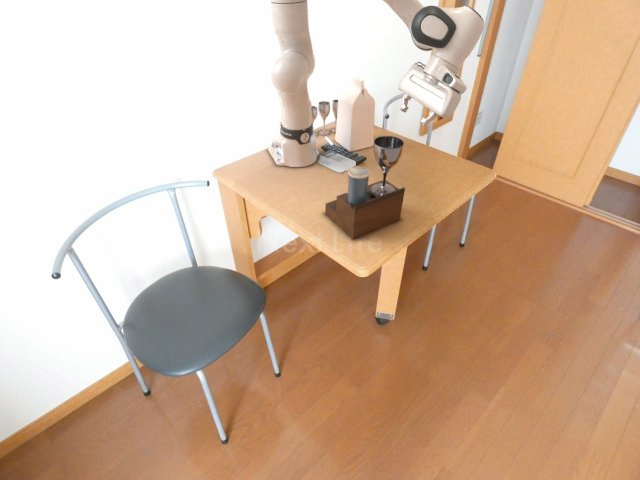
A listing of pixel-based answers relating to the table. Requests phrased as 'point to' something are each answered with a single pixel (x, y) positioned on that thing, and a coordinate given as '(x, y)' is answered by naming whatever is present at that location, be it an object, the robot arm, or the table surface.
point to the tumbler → (357, 184)
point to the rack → (366, 211)
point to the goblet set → (325, 113)
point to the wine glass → (386, 160)
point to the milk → (355, 117)
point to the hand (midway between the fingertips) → (412, 118)
